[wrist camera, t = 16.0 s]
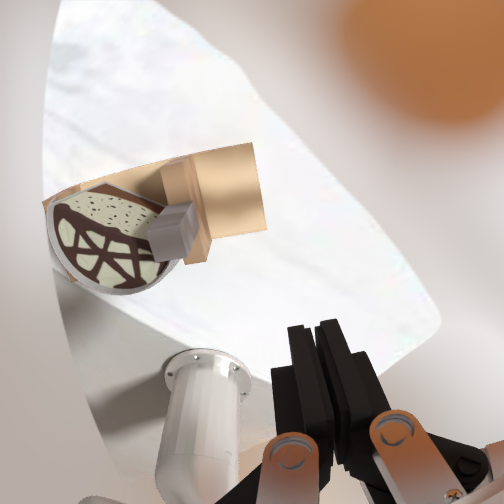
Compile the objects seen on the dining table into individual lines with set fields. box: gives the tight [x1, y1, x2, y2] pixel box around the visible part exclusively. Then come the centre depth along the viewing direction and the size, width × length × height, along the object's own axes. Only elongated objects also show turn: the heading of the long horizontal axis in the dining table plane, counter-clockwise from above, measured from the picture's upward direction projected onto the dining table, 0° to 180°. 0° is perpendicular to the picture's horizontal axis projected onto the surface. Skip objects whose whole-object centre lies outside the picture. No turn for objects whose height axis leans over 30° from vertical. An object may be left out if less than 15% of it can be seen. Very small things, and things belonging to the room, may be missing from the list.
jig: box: [42, 142, 267, 282], centre depth 30 cm, size 9×21×6 cm, turn 100°
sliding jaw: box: [146, 155, 212, 265], centre depth 26 cm, size 9×2×11 cm, turn 10°
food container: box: [46, 181, 180, 295], centre depth 28 cm, size 12×6×10 cm, turn 65°
